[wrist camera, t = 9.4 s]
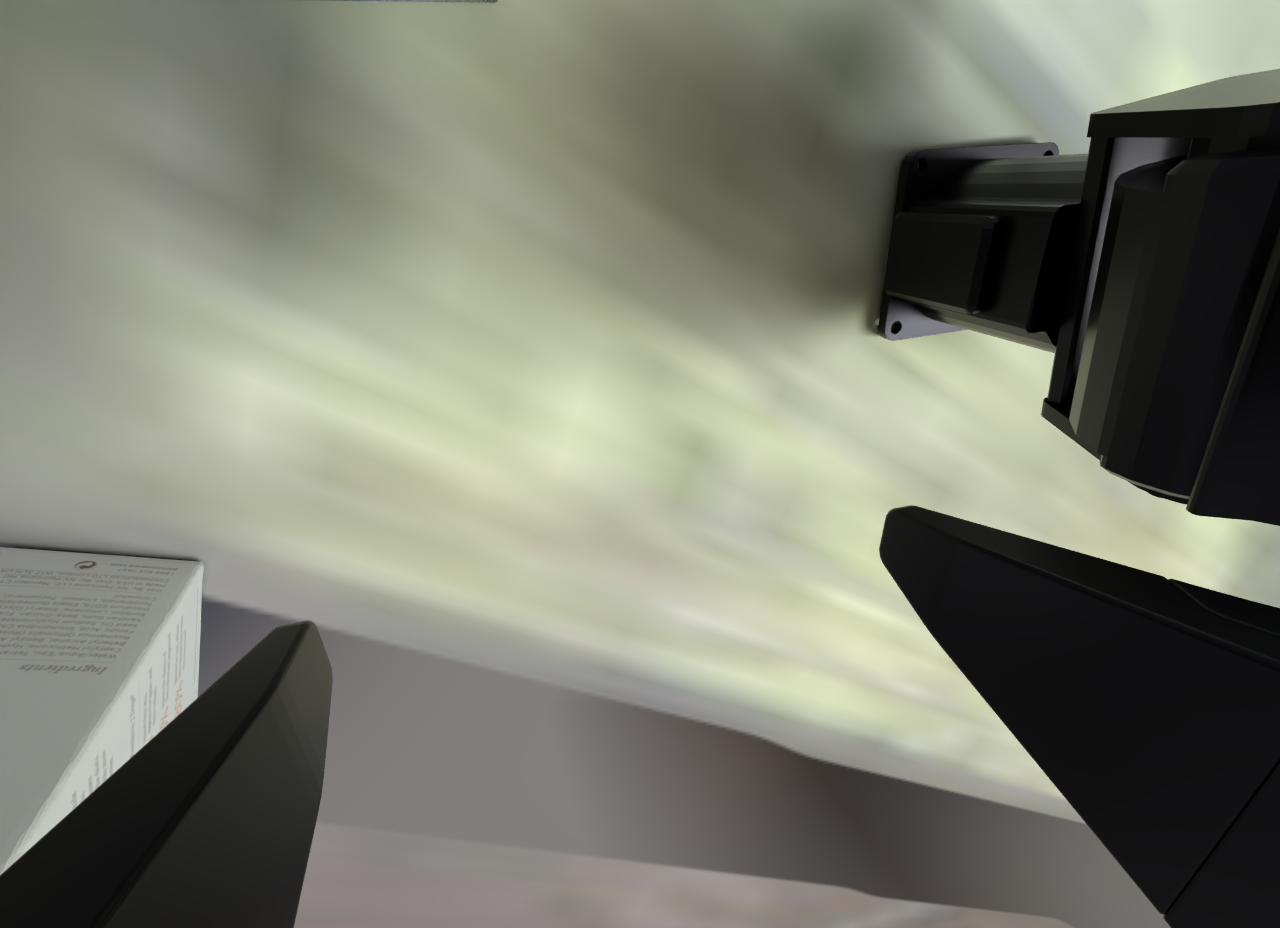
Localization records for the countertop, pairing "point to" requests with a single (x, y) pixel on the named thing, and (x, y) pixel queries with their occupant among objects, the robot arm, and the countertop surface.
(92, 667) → the small box
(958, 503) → the countertop surface
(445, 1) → the tray
